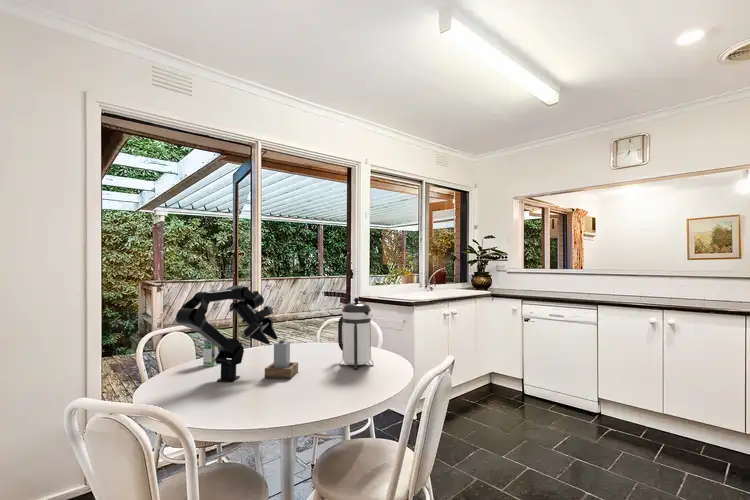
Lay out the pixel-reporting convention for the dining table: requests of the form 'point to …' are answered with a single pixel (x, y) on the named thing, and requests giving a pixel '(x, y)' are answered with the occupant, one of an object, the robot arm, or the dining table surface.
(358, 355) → the coffee press
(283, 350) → the plug
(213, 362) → the syrup box
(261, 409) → the dining table surface
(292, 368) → the socket
